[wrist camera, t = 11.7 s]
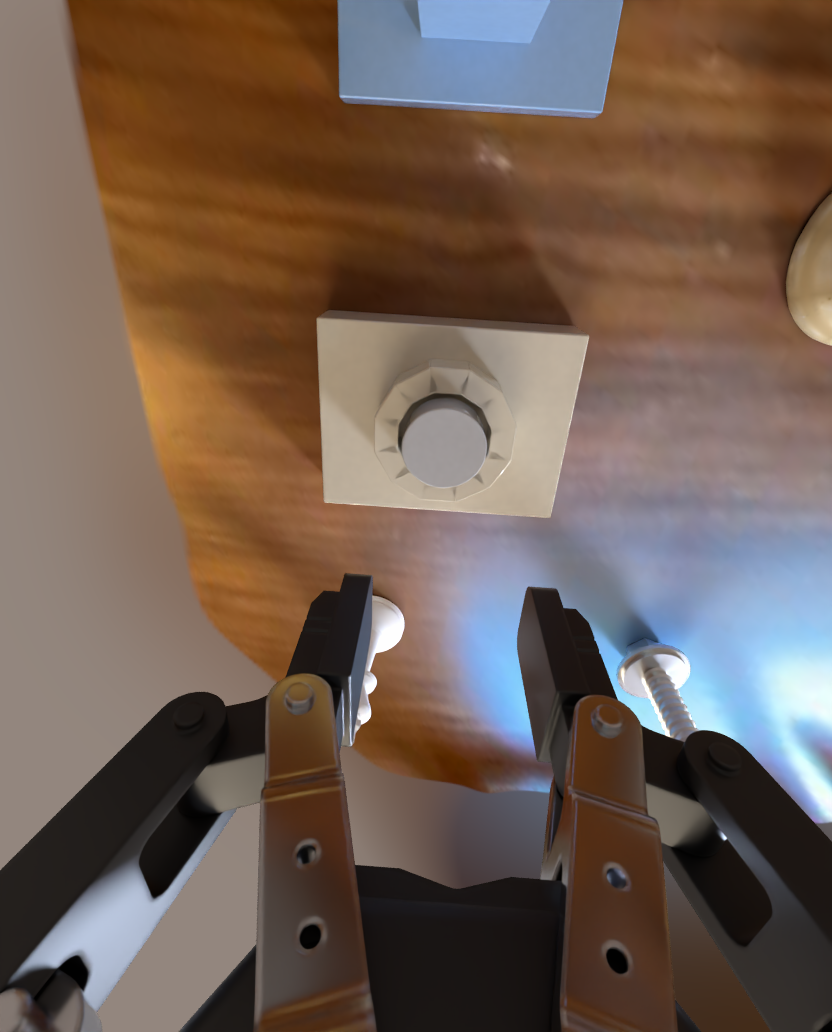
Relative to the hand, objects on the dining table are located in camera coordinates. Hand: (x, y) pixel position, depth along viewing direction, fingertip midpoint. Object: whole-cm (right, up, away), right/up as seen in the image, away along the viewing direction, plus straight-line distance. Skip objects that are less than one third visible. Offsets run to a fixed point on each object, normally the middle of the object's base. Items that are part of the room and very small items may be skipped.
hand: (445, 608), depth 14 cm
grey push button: (+1, +6, +11) cm, 13 cm away
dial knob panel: (+1, +8, +15) cm, 17 cm away
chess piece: (-4, -5, +23) cm, 24 cm away
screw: (+16, -7, +23) cm, 29 cm away
